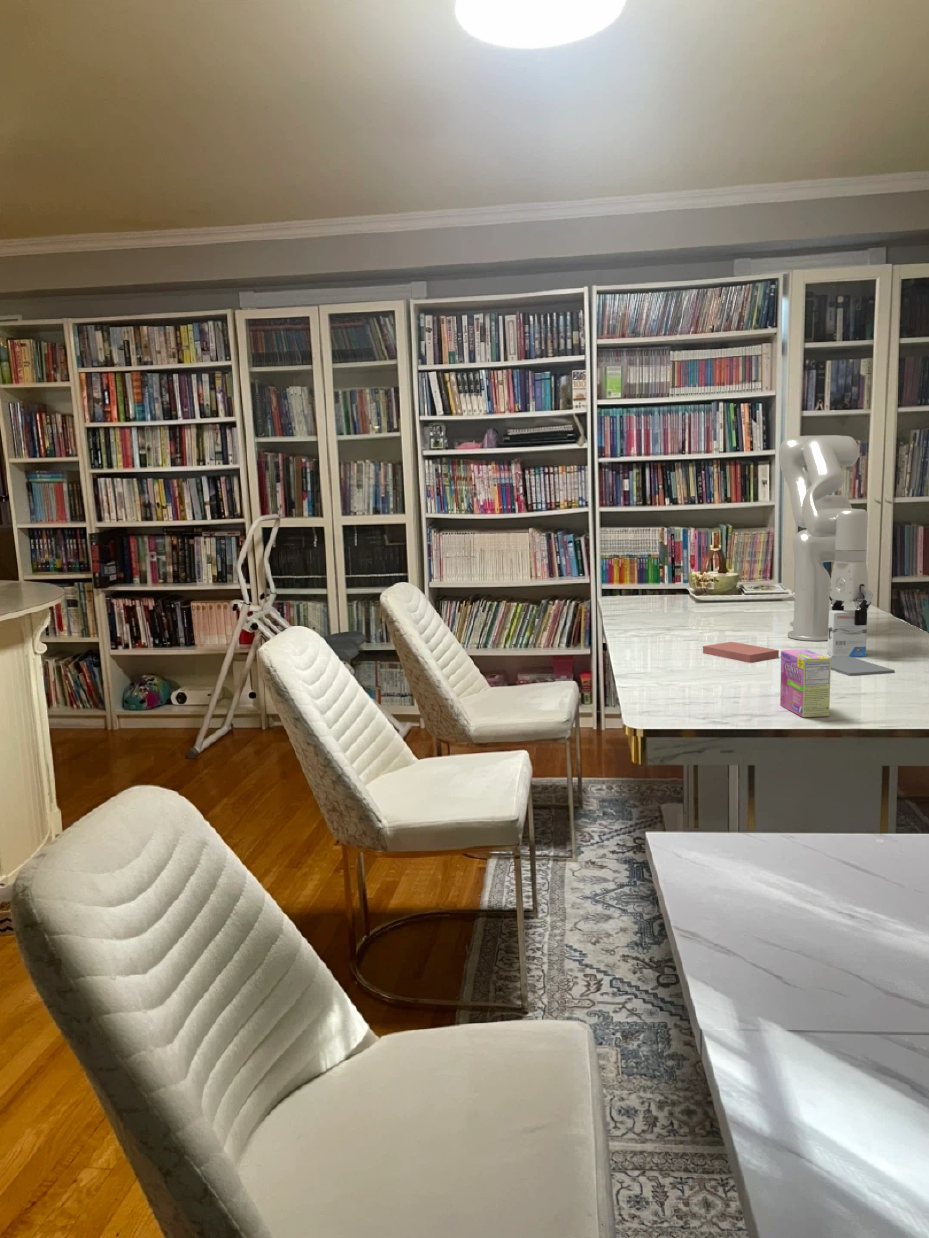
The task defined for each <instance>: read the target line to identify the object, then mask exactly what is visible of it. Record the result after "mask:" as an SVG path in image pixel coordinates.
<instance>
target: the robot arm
mask: <svg viewBox="0 0 929 1238" xmlns="http://www.w3.org/2000/svg"><path fill="white" fill-rule="evenodd" d="M859 453H860V451H859V446H858V443H857V441H856V439H854V437H852V436H851V435H850V436H849V435H839V434H838V435H837V434H836V435H835V434H834V435H833V434H832V435H831V434H830V435H829V434H828V435H824V434H823V435H797V436H796V435H795V436H792V437H788V438H786V439H785V440H783V441H782V442H781V443H780V446H779V450H778V462H779V468H780V470H781V473H782V476H783V478H784V480H785V482H786V483H787V487H788V491H789V496H790V503H791V509H792V515H793V520H794V522H795V524H796V526H798V527H799V528H803V530H799V531H798V532H797V533H796V534H795V535H794V537H793V542H792V549H793V551H792V552H793V557H794V571H795V575H794V576H795V577H794V609H793V619H792V621H790V623H789V626H790V627H792V630H790V631H788V632H787V637H788V638H790V639H794V640H800V641H815V642H817V641H819V642H820V641H821V642H822V641H828V625H829V611H830V606H831V610H834V611H841V610H845V605H843V604H844V602H846V603H852V602H853V605H854V607H855V609H854V610H855V617H854V625H856V626H860V625H867V626H868V610H869V608H870V605H871V603H872V601H873V600H872V599H873V596H874V594H873V593H872V591H871V590H870V589H869V574H868V573H869V572H868V565H867V561H868V560H867V557H868V556H867V555H868V554H867V553H868V531H869V530H868V528H869V527H868V525H869V524H868V523H869V515H868V512H867V510H866V509H864V508H863V509H862V508H852V504H851V503H850V501H849V499H848V498H847V497H846V496H843V495H838V494H833V493H835V492H837V491H839V490H840V489H841V488H842V487H843V486H844V484H845V479H846V477H845V474H844V472H843V467H852V466H854V465H855V464H856V462H857V461H858V460H859V459H858V458H859ZM831 494H832V495H831ZM828 562H829V563H832V562H833V564H832V570H831V576H830V574H829V571H828V570H827V569H826V568H825V566H824V565H823V563H828Z"/></svg>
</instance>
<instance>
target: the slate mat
mask: <svg viewBox="0 0 929 1238" xmlns="http://www.w3.org/2000/svg"><path fill="white" fill-rule="evenodd" d="M828 658H831V671H834V672H838V673H840V674H843V675H845V676H849V677H852V676H862V675H863V676H864V675H868V676H869V675H879V674H880V675H881V674H895V673H896V672H895V669H892V668H889V667H886V666H882V665H880V664H876V663H872V662H869V661H866V660H863V659H862V660H861V659H859V658H857V657H850V656H844V657H832V656H831V657H828Z"/></svg>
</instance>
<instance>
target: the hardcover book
mask: <svg viewBox="0 0 929 1238" xmlns="http://www.w3.org/2000/svg"><path fill="white" fill-rule="evenodd" d="M779 653H780V650H778V649H774V648H770V647H763V646H757V645H752V644H751V645H750V644H746V643H740V642H736V641H735V642H734V641H727V642H721V643H715V644H708V645H704V646H702V654H704V655H708V656H709V655H710V656H713V657H714V656H715V657H720V658H724V659H729V660H733V661H738V662H739V661H740V662H743V663H744V662H745V663H749V664H751V663H756V662H762V661H768V660H772V659H779V655H780V654H779Z"/></svg>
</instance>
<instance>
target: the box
mask: <svg viewBox="0 0 929 1238" xmlns="http://www.w3.org/2000/svg"><path fill="white" fill-rule="evenodd" d="M831 672H832V670H831V658H829V657H827V656H825V655H823V654H819V653H817V652H814V651H811V650H809V649H807V648H800V649H782V650H780V692H779V693H780V694H779V695H780V699H779V702H780V703H779V704H780V706H781V707H782V708H784V709H787V711H790V712H792V713H794V714H796V715H798V716H800V717H801V718H818V717H819V718H821V717H822V718H823V717H830V701H831V700H830V698H831Z"/></svg>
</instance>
